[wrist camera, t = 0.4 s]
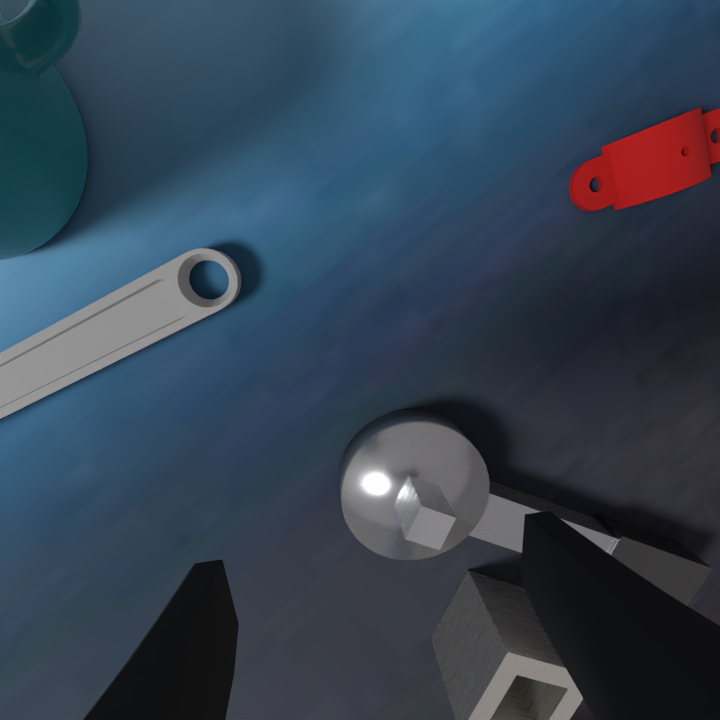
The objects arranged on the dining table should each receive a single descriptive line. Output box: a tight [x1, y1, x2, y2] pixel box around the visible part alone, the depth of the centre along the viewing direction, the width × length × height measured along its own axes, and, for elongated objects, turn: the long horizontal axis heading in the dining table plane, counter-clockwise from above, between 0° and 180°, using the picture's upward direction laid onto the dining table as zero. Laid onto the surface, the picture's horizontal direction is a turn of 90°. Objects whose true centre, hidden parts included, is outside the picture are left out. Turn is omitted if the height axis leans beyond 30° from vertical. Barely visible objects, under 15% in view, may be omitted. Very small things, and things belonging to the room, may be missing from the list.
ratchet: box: [339, 409, 712, 606], centre depth 21 cm, size 7×20×4 cm, turn 67°
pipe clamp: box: [569, 107, 720, 211], centre depth 18 cm, size 8×3×2 cm, turn 111°
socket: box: [431, 570, 583, 720], centre depth 22 cm, size 5×5×5 cm
